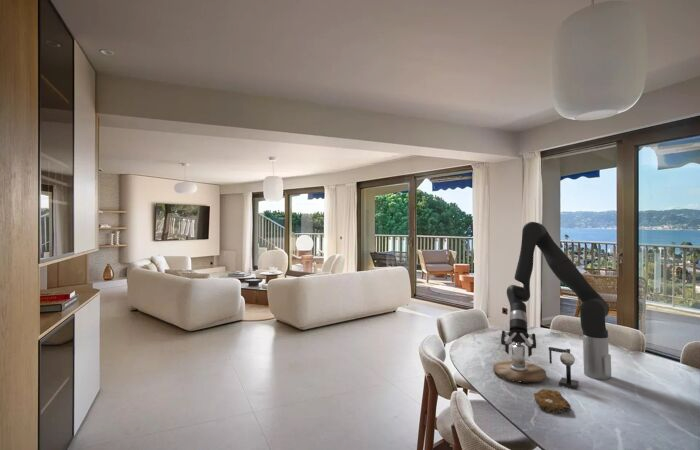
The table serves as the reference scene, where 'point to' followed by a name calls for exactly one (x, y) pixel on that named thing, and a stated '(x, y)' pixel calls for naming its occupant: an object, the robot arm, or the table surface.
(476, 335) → the table surface
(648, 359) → the table surface
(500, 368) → the disc
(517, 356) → the cover
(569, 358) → the stand
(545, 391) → the decorative rock
